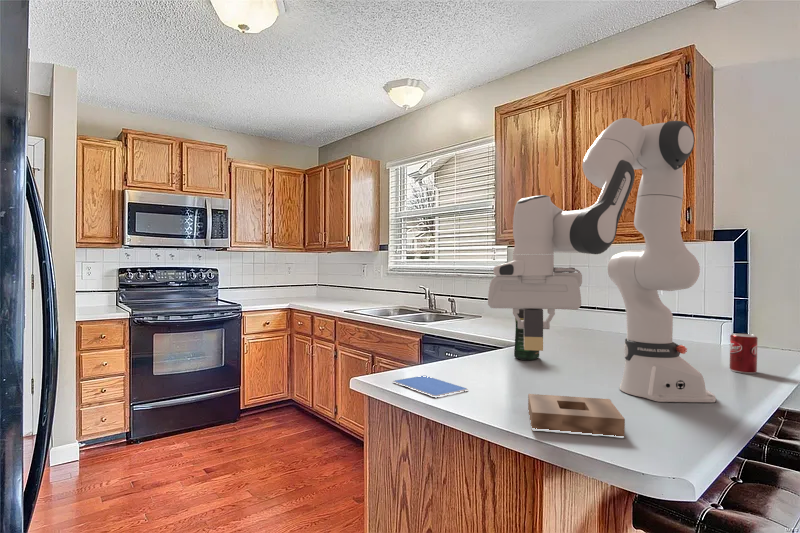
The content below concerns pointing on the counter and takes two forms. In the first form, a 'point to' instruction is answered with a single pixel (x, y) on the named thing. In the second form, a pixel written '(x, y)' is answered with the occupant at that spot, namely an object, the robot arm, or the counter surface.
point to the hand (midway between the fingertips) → (533, 328)
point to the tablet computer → (430, 385)
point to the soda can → (743, 353)
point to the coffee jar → (522, 343)
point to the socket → (575, 414)
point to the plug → (533, 329)
